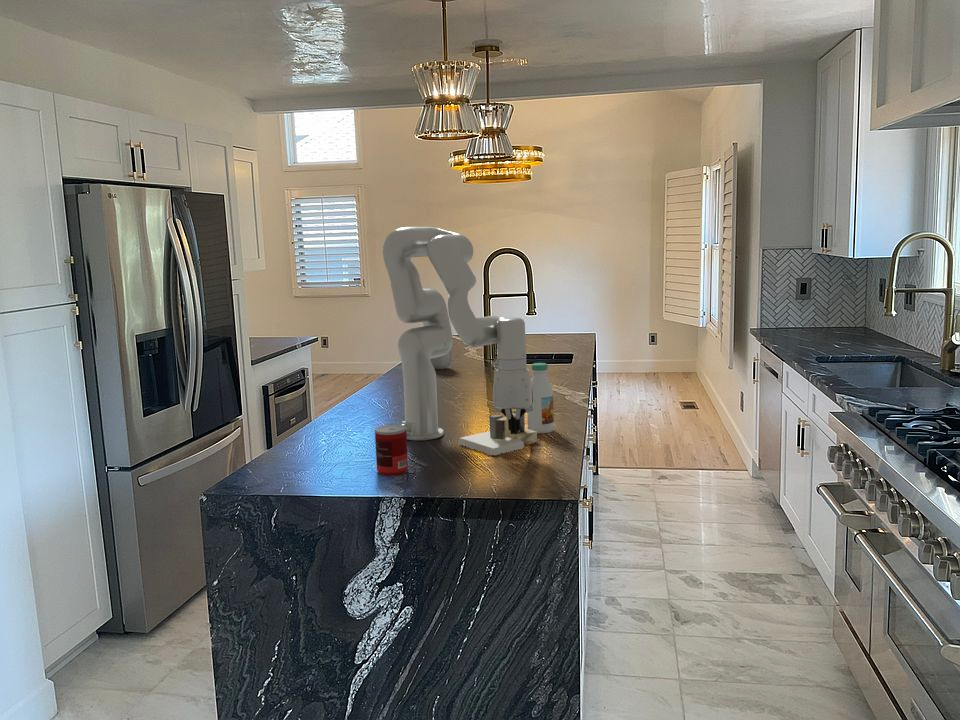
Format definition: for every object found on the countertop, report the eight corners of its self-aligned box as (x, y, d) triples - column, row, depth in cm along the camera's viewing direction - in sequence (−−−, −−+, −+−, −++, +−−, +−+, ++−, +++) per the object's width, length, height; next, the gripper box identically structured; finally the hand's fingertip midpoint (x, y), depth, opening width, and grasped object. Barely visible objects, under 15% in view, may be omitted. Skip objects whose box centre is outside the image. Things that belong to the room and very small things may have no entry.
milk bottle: (532, 435, 228) (531, 366, 225) (524, 429, 236) (522, 362, 233) (557, 432, 230) (556, 364, 227) (548, 426, 238) (547, 360, 235)
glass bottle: (426, 368, 350) (423, 304, 345) (448, 366, 353) (446, 303, 348) (431, 371, 340) (429, 306, 336) (454, 369, 343) (452, 305, 339)
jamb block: (517, 446, 216) (517, 436, 216) (501, 441, 222) (501, 431, 221) (537, 442, 221) (536, 431, 220) (520, 437, 226) (520, 427, 226)
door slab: (493, 455, 208) (492, 426, 207) (459, 444, 220) (458, 416, 219) (523, 448, 214) (523, 419, 213) (489, 438, 226) (488, 410, 225)
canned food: (408, 466, 201) (407, 423, 199) (407, 475, 193) (405, 431, 191) (378, 467, 201) (376, 425, 199) (375, 476, 193) (373, 432, 191)
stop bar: (516, 428, 223) (516, 409, 222) (526, 429, 221) (526, 410, 220) (494, 439, 212) (493, 419, 211) (504, 440, 211) (504, 420, 210)
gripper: (481, 367, 207) (484, 436, 209) (537, 367, 203) (540, 436, 206) (487, 362, 214) (490, 429, 216) (542, 362, 210) (544, 430, 213)
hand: (514, 432), depth 211 cm, fingers closed
